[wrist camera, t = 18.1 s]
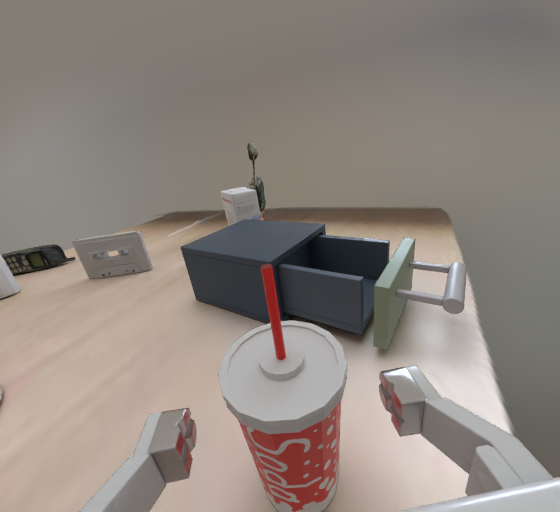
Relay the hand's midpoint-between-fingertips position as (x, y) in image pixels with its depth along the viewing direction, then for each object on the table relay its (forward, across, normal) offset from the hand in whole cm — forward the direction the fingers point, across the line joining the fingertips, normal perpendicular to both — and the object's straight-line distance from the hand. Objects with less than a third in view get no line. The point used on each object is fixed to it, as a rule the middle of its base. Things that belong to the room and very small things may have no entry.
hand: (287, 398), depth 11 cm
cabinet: (+25, -1, -9) cm, 27 cm away
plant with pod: (+58, -1, -9) cm, 58 cm away
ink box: (+43, -4, -9) cm, 44 cm away
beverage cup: (+2, 0, -9) cm, 9 cm away
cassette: (+40, -28, -9) cm, 50 cm away
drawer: (+16, +9, -8) cm, 20 cm away
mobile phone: (+51, -52, -9) cm, 73 cm away
